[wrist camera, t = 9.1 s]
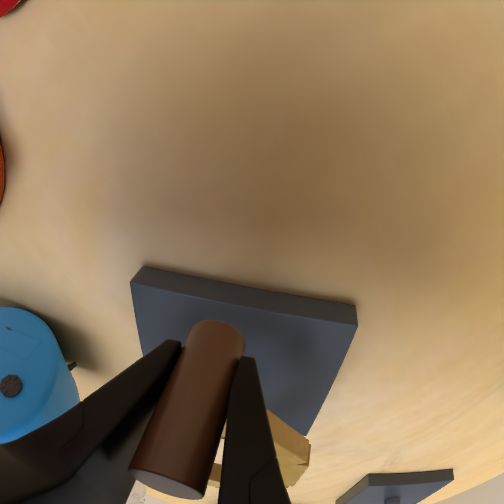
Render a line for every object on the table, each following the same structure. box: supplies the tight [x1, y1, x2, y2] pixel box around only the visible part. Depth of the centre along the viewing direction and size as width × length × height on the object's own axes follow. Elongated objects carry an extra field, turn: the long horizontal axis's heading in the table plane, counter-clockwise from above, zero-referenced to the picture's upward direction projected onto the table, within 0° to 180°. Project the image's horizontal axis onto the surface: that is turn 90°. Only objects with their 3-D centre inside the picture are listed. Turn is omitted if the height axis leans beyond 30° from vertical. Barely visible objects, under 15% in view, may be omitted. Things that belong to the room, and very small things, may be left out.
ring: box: [128, 320, 311, 500], centre depth 10 cm, size 13×9×5 cm
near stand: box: [130, 267, 358, 439], centre depth 16 cm, size 11×11×5 cm
